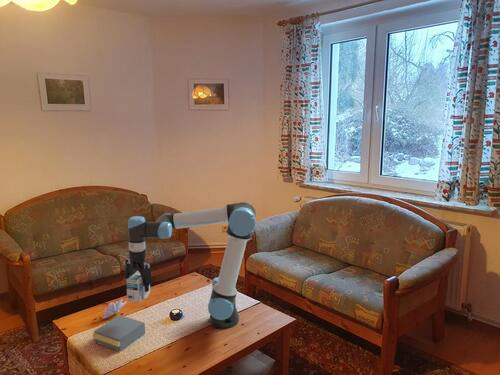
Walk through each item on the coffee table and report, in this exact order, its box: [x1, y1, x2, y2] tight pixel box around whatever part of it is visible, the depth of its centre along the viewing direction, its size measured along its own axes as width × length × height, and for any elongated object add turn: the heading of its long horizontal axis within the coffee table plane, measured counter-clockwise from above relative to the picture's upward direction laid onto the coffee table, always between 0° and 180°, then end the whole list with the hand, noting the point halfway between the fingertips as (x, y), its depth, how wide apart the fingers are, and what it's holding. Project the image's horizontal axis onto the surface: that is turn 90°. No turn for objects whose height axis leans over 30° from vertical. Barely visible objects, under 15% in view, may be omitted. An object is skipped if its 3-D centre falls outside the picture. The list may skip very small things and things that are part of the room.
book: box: [92, 314, 146, 352], centre depth 179 cm, size 16×17×6 cm
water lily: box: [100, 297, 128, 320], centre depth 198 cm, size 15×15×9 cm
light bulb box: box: [125, 270, 151, 303], centre depth 179 cm, size 11×7×11 cm, turn 167°
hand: (138, 295), depth 180 cm, fingers closed on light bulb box, 8 cm apart
